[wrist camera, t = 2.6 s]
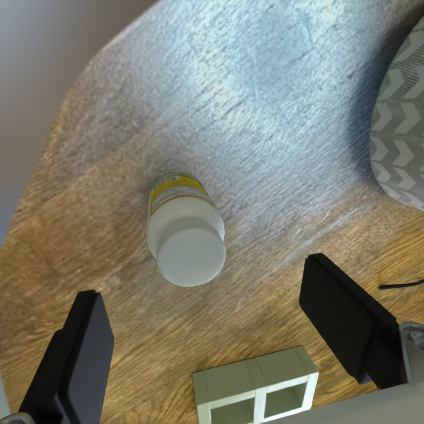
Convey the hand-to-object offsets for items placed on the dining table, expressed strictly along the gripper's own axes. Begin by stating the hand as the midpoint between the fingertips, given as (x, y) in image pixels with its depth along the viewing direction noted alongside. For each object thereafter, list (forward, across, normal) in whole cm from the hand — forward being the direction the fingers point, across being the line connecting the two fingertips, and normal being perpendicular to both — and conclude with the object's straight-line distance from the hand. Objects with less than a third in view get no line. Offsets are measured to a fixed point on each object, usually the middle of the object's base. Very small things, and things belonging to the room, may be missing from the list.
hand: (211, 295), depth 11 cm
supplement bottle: (+13, +1, 0) cm, 13 cm away
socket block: (+13, -7, +30) cm, 34 cm away
